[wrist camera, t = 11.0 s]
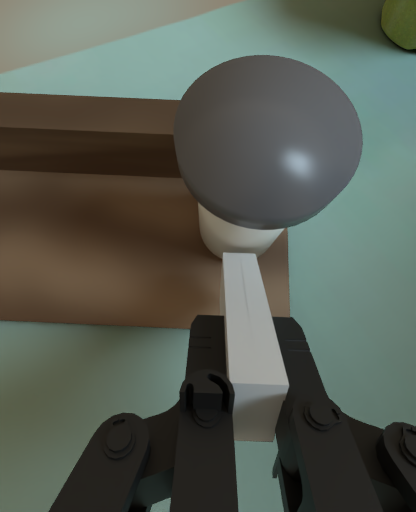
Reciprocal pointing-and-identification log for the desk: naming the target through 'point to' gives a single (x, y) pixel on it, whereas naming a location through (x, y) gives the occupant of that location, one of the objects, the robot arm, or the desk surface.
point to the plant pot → (400, 22)
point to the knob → (263, 149)
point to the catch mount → (106, 218)
